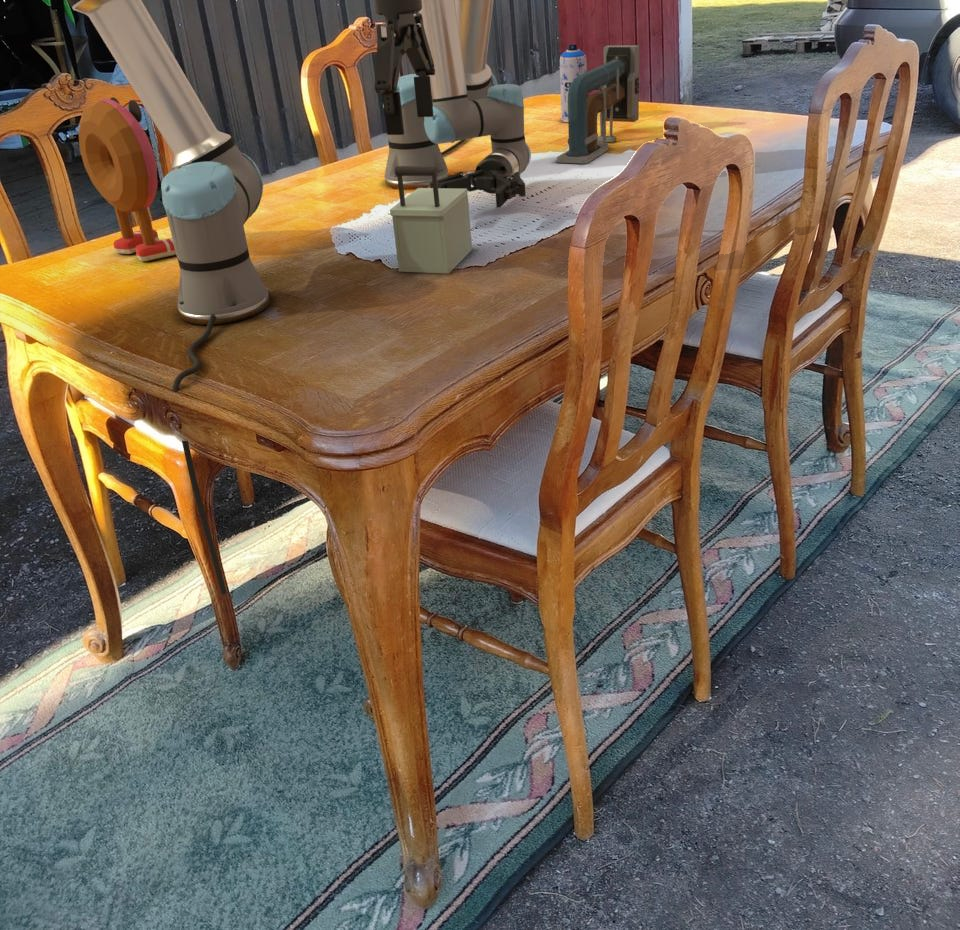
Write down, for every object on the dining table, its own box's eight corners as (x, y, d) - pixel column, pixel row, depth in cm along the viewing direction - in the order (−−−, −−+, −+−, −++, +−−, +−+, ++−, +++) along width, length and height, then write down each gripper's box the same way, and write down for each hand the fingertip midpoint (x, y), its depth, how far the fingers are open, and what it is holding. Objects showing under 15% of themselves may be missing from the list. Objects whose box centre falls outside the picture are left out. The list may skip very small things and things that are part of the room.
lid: (442, 216, 167) (437, 169, 163) (390, 215, 170) (384, 169, 166) (467, 194, 178) (464, 150, 174) (418, 193, 181) (414, 150, 177)
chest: (448, 273, 173) (443, 216, 168) (398, 271, 176) (391, 214, 171) (472, 249, 184) (467, 194, 178) (424, 248, 187) (418, 194, 181)
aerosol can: (559, 122, 275) (557, 47, 265) (562, 117, 282) (559, 42, 272) (587, 121, 274) (585, 45, 263) (589, 115, 280) (587, 41, 270)
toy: (199, 253, 194) (163, 96, 179) (154, 268, 188) (113, 106, 173) (144, 236, 207) (106, 89, 192) (101, 250, 201) (58, 98, 186)
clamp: (586, 163, 233) (584, 69, 222) (553, 162, 237) (550, 69, 226) (638, 131, 258) (639, 45, 248) (607, 130, 262) (607, 45, 251)
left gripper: (404, -22, 163) (417, 109, 174) (340, -5, 143) (360, 142, 154) (445, -24, 161) (456, 109, 172) (387, -7, 141) (403, 142, 152)
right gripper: (553, 190, 205) (526, 220, 188) (443, 188, 212) (407, 217, 195) (552, 153, 201) (524, 181, 184) (440, 153, 208) (403, 180, 191)
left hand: (411, 125), depth 163 cm, fingers open, 13 cm apart
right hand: (464, 200), depth 189 cm, fingers open, 13 cm apart
